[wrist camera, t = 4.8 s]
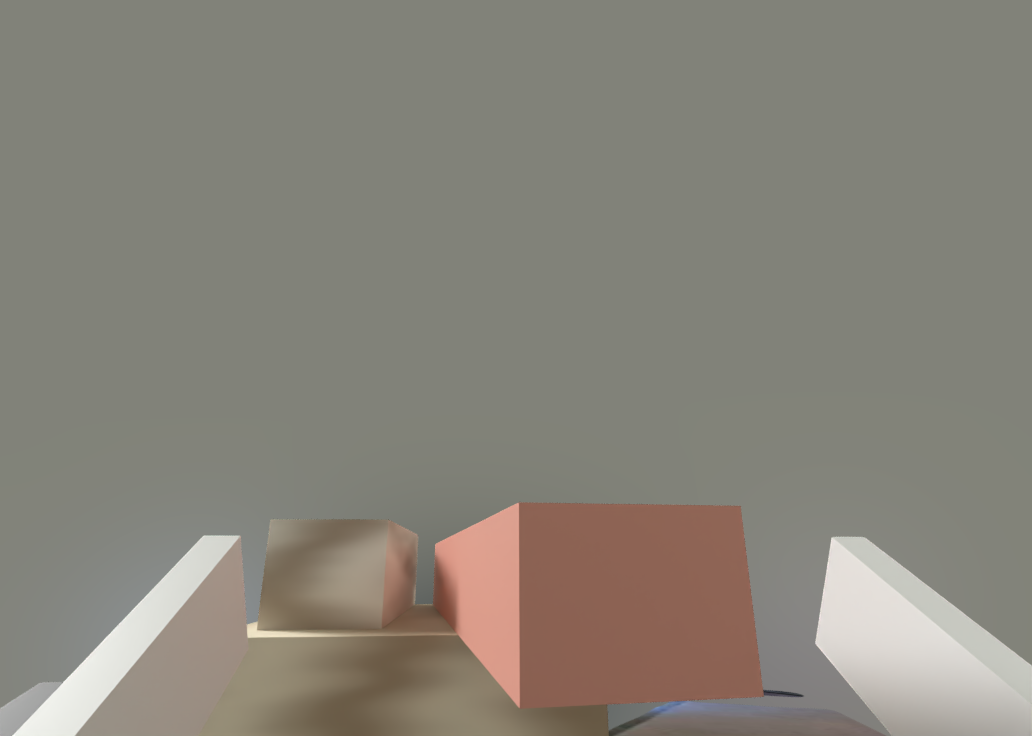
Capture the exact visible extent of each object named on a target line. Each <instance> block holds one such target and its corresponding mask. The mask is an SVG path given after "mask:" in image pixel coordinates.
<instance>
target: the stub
mask: <svg viewBox="0 0 1032 736" xmlns="http://www.w3.org/2000/svg"><path fill="white" fill-rule="evenodd" d="M433 606H434V607H435V608H436V609H437V610H438V612H439V613H440V614H441V615H442V616H443V618H444V619H445V620H446V621H447V622H448V624H449V625H450V626H451V627H452V628H453V629H454V631H455V632H456V633H457V634H458V635H459V637H460V638H461V639H462V640H463V641H464V643H465V644H466V645H467V646H468V647H469V649H470V650H471V651H472V652H473V653H474V655H475V656H476V657H477V658H478V659H479V661H480V662H481V663H482V664H483V665H484V667H485V668H486V669H487V670H488V671H489V673H490V674H491V675H492V676H493V677H494V679H495V680H496V681H497V682H498V683H499V684H500V686H501V687H502V688H503V689H504V690H505V692H506V693H507V694H508V695H509V696H510V698H511V699H512V700H513V701H514V702H515V704H516V705H517V706H518V707H519V708H520V709H525V708H545V707H565V706H586V705H606V704H626V703H647V702H667V701H687V700H707V699H728V698H748V697H763V696H764V695H763V687H762V679H761V671H760V662H759V654H758V646H757V639H756V630H755V621H754V613H753V605H752V597H751V589H750V580H749V572H748V565H747V555H746V547H745V539H744V531H743V522H742V515H741V506H713V505H648V504H646V505H645V504H581V503H579V504H578V503H517V504H515V505H513V506H511V507H509V508H507V509H505V510H503V511H501V512H499V513H497V514H495V515H493V516H491V517H489V518H487V519H485V520H483V521H481V522H479V523H477V524H475V525H473V526H471V527H469V528H467V529H465V530H463V531H461V532H459V533H457V534H455V535H453V536H451V537H449V538H447V539H445V540H443V541H441V542H439V543H437V544H436V545H435V568H434V595H433Z"/></svg>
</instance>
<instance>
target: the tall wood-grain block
mask: <svg viewBox="0 0 1032 736" xmlns="http://www.w3.org/2000/svg"><path fill="white" fill-rule="evenodd" d="M417 549H418V535H417V534H415V533H413V532H411V531H409V530H407V529H406V528H404V527H402V526H400V525H398V524H396V523H394V522H392V521H390V520H360V519H356V520H355V519H352V520H350V519H347V520H346V519H344V520H342V519H341V520H340V519H338V520H337V519H331V520H330V519H329V520H326V519H323V520H322V519H321V520H320V519H316V520H315V519H314V520H312V519H307V520H306V519H305V520H304V519H300V520H299V519H297V520H296V519H271V520H270V528H269V536H268V544H267V552H266V560H265V568H264V576H263V584H262V592H261V600H260V608H259V616H258V622H255V623H251V624H247V635H248V651H247V652H246V654H245V656H244V658H243V659H242V661H241V663H240V665H239V666H238V668H237V670H236V671H235V673H234V675H233V677H232V678H231V680H230V682H229V684H228V685H227V687H226V689H225V691H224V692H223V694H222V696H221V697H220V699H219V701H218V703H217V704H216V706H215V708H214V710H213V711H212V713H211V715H210V716H209V718H208V720H207V722H206V723H205V725H204V727H203V729H202V730H201V732H200V734H199V736H609V733H608V712H607V704H606V705H586V706H565V707H545V708H525V709H520V708H519V707H518V706H517V705H516V704H515V702H514V701H513V700H512V699H511V698H510V696H509V695H508V694H507V693H506V692H505V690H504V689H503V688H502V687H501V686H500V684H499V683H498V682H497V681H496V680H495V679H494V677H493V676H492V675H491V674H490V673H489V671H488V670H487V669H486V668H485V667H484V665H483V664H482V663H481V662H480V661H479V659H478V658H477V657H476V656H475V655H474V653H473V652H472V651H471V650H470V649H469V647H468V646H467V645H466V644H465V643H464V641H463V640H462V639H461V638H460V637H459V635H458V634H457V633H456V632H455V631H454V629H453V628H452V627H451V626H450V625H449V624H448V622H447V621H446V620H445V619H444V618H443V616H442V615H441V614H440V613H439V612H438V610H437V609H436V608H435V607H434V606H433V604H418V605H417V604H415V590H416V570H417Z"/></svg>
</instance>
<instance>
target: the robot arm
mask: <svg viewBox="0 0 1032 736" xmlns="http://www.w3.org/2000/svg"><path fill="white" fill-rule="evenodd" d="M815 644H816V645H817V646H818V647H819V649H820V650H821V651H822V652H823V653H824V655H825V656H826V657H827V658H828V659H829V661H830V662H831V663H832V664H833V665H834V667H835V668H836V669H837V670H838V671H839V673H840V674H841V675H842V676H843V677H844V679H845V680H846V681H847V682H848V683H849V685H850V686H851V687H852V688H853V689H854V691H855V692H856V693H857V694H858V695H859V697H860V698H861V699H862V700H863V701H864V703H865V704H866V705H867V706H868V707H869V709H870V710H871V711H872V712H873V713H874V715H875V716H876V717H877V718H878V719H879V721H880V722H881V723H882V724H883V725H884V726H885V728H886V729H887V730H888V731H889V733H890V734H891V735H892V736H1032V666H1031V665H1030V664H1029V663H1027V662H1026V661H1025V660H1024V659H1022V658H1021V657H1020V656H1018V655H1017V654H1016V653H1015V652H1013V651H1012V650H1010V649H1009V648H1008V647H1007V646H1005V645H1004V644H1003V643H1002V642H1000V641H999V640H998V639H996V638H995V637H994V636H992V635H991V634H990V633H989V632H987V631H986V630H985V629H983V628H982V627H981V626H979V625H978V624H977V623H976V622H974V621H973V620H972V619H970V618H969V617H968V616H966V615H965V614H964V613H962V612H961V611H960V610H959V609H957V608H956V607H954V606H953V605H952V604H950V603H949V602H948V601H947V600H946V599H944V598H943V597H941V596H940V595H939V594H938V593H936V592H935V591H934V590H933V589H931V588H930V587H929V586H927V585H926V584H925V583H923V582H922V581H921V580H920V579H918V578H917V577H916V576H914V575H913V574H912V573H910V572H909V571H908V570H907V569H905V568H904V567H902V566H901V565H900V564H899V563H897V562H896V561H895V560H894V559H892V558H891V557H890V556H888V555H887V554H886V553H884V552H883V551H882V550H880V549H879V548H878V547H877V546H875V545H874V544H873V543H871V542H870V541H869V540H867V539H866V538H865V537H832V539H831V546H830V552H829V559H828V565H827V572H826V579H825V584H824V591H823V597H822V604H821V610H820V617H819V624H818V630H817V636H816V642H815ZM247 651H248V635H247V622H246V607H245V593H244V580H243V565H242V552H241V536H203V537H202V538H201V539H200V540H199V541H198V542H197V543H196V544H195V545H194V546H193V547H192V549H191V550H189V552H188V553H187V554H186V555H185V556H184V557H183V558H182V559H181V560H180V561H179V562H178V563H177V564H176V565H175V566H174V567H173V568H172V569H171V570H170V572H168V574H167V575H166V576H165V577H164V578H163V579H162V580H161V581H160V582H159V583H158V584H157V585H156V586H155V587H154V588H153V589H152V590H151V591H150V592H149V593H148V594H147V595H146V597H145V598H144V599H143V600H142V601H141V602H140V603H139V604H138V605H137V606H136V607H135V608H134V609H133V610H132V611H131V612H130V613H129V614H128V615H127V616H126V618H124V620H123V621H122V622H121V623H120V624H119V625H118V626H117V627H116V628H115V629H114V630H113V631H112V632H111V633H110V634H109V635H108V636H107V637H106V638H105V639H104V640H103V642H102V643H101V644H100V645H99V646H98V647H97V648H96V649H95V650H94V651H93V652H92V653H91V654H90V655H89V656H88V657H87V659H85V661H84V662H82V663H81V665H80V666H79V667H78V668H77V669H76V670H75V671H74V672H73V673H72V674H71V675H70V676H69V677H68V678H67V679H66V680H65V681H64V682H41V683H39V684H38V685H36V686H35V687H33V688H31V689H30V690H28V691H27V692H25V693H23V694H22V695H20V696H19V697H17V698H16V699H14V700H12V701H11V702H9V703H8V704H6V705H5V706H3V707H1V708H0V736H199V734H200V732H201V730H202V729H203V727H204V725H205V723H206V722H207V720H208V718H209V716H210V715H211V713H212V711H213V710H214V708H215V706H216V704H217V703H218V701H219V699H220V697H221V696H222V694H223V692H224V691H225V689H226V687H227V685H228V684H229V682H230V680H231V678H232V677H233V675H234V673H235V671H236V670H237V668H238V666H239V665H240V663H241V661H242V659H243V658H244V656H245V654H246V652H247Z"/></svg>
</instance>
